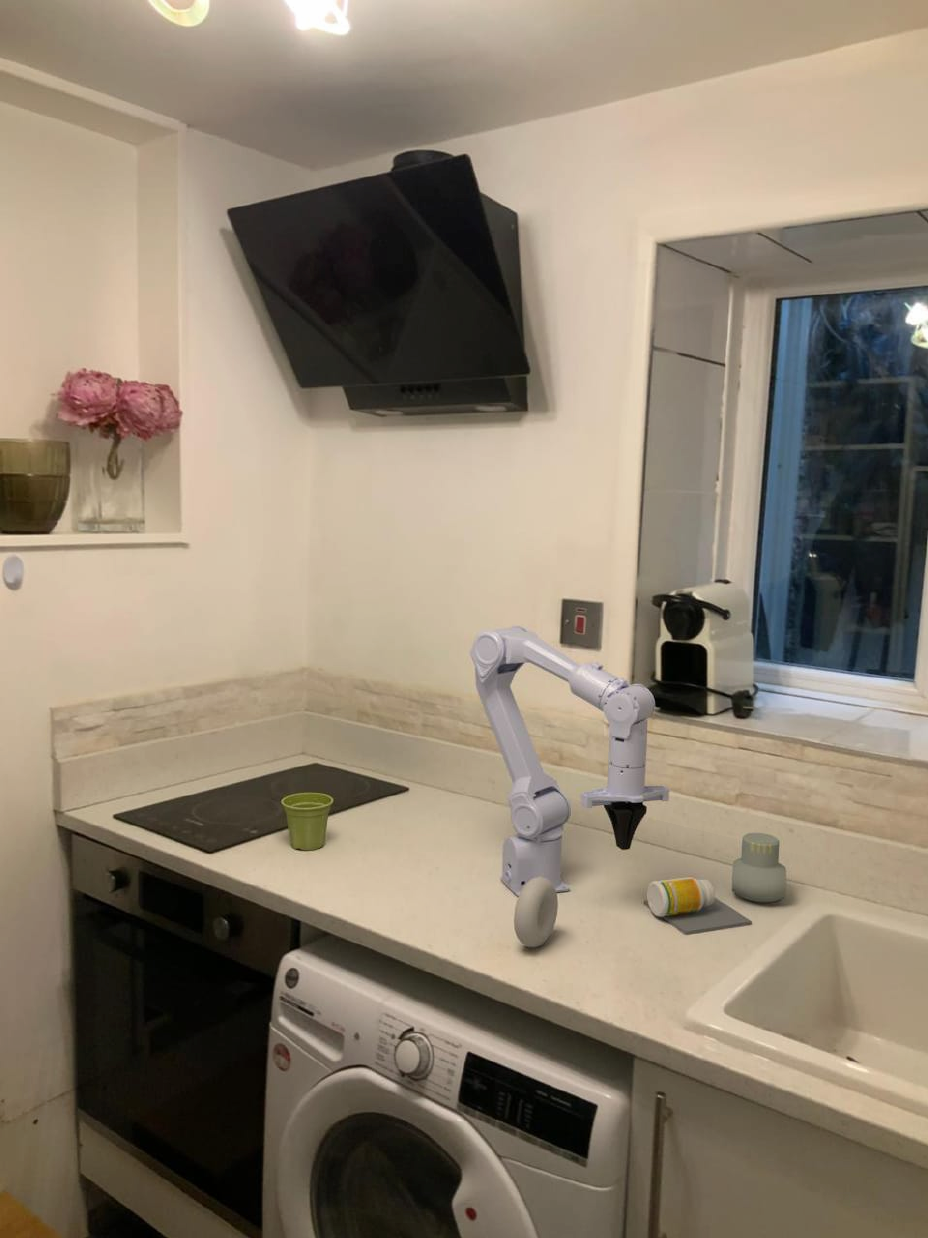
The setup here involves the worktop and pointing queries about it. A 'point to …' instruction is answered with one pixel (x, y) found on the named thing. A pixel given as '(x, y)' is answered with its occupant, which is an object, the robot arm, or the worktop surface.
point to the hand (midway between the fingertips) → (622, 847)
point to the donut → (535, 912)
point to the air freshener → (759, 869)
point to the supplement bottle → (679, 896)
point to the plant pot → (307, 819)
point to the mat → (707, 918)
